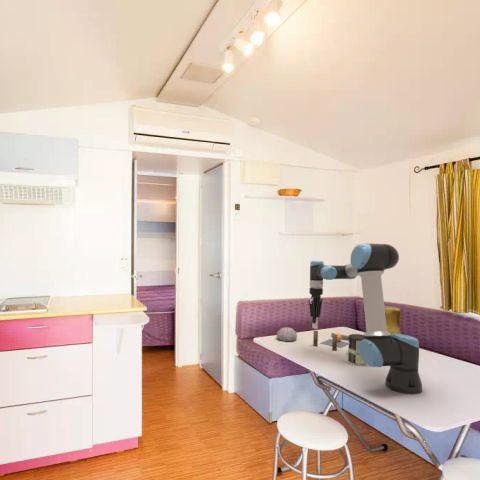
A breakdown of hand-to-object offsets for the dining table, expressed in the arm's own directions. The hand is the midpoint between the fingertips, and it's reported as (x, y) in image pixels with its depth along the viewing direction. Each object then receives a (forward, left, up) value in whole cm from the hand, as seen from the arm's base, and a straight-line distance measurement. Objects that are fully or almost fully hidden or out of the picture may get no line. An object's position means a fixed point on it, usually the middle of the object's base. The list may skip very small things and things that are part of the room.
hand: (315, 328), depth 223 cm
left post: (+13, +6, -14) cm, 20 cm away
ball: (+32, +1, -11) cm, 34 cm away
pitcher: (+43, -27, -14) cm, 53 cm away
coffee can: (0, -26, -14) cm, 30 cm away
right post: (+13, -6, -14) cm, 20 cm away
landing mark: (+27, 0, -14) cm, 30 cm away
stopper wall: (+41, 0, -14) cm, 43 cm away
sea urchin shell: (+13, +27, -14) cm, 33 cm away
